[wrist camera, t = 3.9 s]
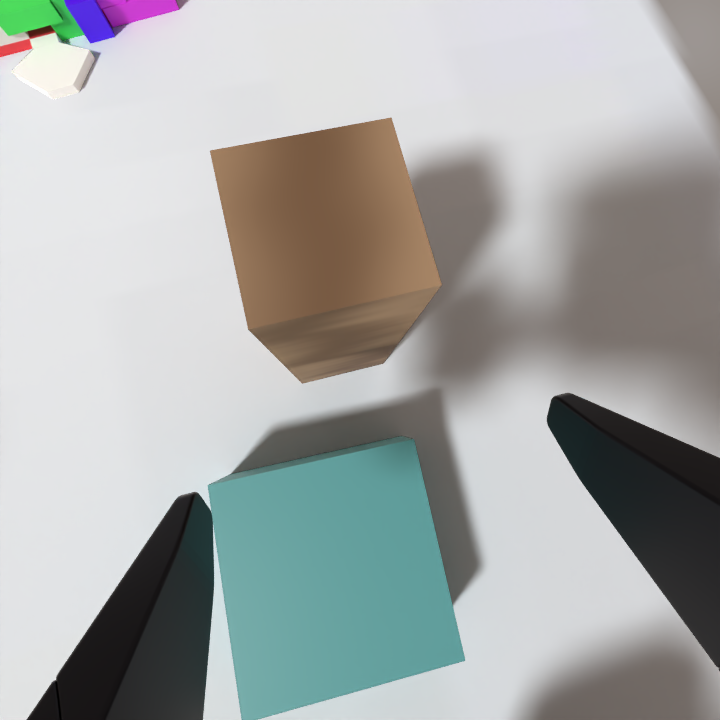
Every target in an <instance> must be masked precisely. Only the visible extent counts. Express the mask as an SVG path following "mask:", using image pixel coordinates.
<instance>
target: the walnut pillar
mask: <svg viewBox="0 0 720 720" xmlns="http://www.w3.org/2000/svg"><path fill="white" fill-rule="evenodd" d="M210 153H211V158H212V162H213V167H214V172H215V176H216V181H217V186H218V190H219V195H220V200H221V204H222V209H223V214H224V218H225V223H226V228H227V232H228V237H229V242H230V246H231V251H232V256H233V260H234V265H235V270H236V274H237V279H238V284H239V288H240V293H241V298H242V302H243V307H244V312H245V316H246V321H247V326H248V330H249V331H250V332H251V333H252V334H253V335H254V336H255V337H256V338H257V339H258V340H259V341H260V342H261V343H262V344H263V345H264V346H265V347H266V348H267V349H268V350H269V351H270V352H271V353H272V354H273V355H274V356H275V357H276V358H277V359H278V360H279V361H280V362H281V363H282V364H283V365H284V366H285V367H286V368H287V369H288V370H289V371H290V372H291V373H292V374H293V375H294V376H295V377H296V378H297V379H298V380H299V381H300V382H301V383H306V382H310V381H314V380H318V379H323V378H327V377H331V376H335V375H339V374H343V373H347V372H351V371H355V370H359V369H363V368H367V367H371V366H375V365H379V364H383V363H384V362H385V361H386V359H387V358H388V357H389V355H390V354H391V353H392V351H393V350H394V348H395V347H396V346H397V344H398V343H399V342H400V340H401V339H402V338H403V336H404V335H405V334H406V332H407V331H408V330H409V328H410V327H411V326H412V324H413V323H414V322H415V320H416V319H417V318H418V316H419V315H420V314H421V312H422V311H423V310H424V308H425V307H426V306H427V304H428V303H429V302H430V300H431V299H432V298H433V296H434V295H435V294H436V292H437V291H438V290H439V288H440V287H441V286H442V284H441V280H440V277H439V274H438V270H437V267H436V264H435V260H434V257H433V254H432V251H431V247H430V244H429V241H428V237H427V234H426V231H425V227H424V224H423V221H422V217H421V214H420V211H419V208H418V204H417V201H416V198H415V194H414V191H413V188H412V184H411V181H410V178H409V174H408V171H407V168H406V165H405V161H404V158H403V155H402V151H401V148H400V145H399V141H398V138H397V135H396V131H395V128H394V125H393V122H392V118H387V119H381V120H376V121H370V122H365V123H359V124H354V125H348V126H343V127H337V128H332V129H326V130H321V131H315V132H310V133H304V134H299V135H293V136H288V137H282V138H277V139H272V140H266V141H261V142H255V143H250V144H244V145H239V146H233V147H228V148H222V149H217V150H211V151H210Z"/></svg>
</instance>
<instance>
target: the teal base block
mask: <svg viewBox="0 0 720 720" xmlns="http://www.w3.org/2000/svg"><path fill="white" fill-rule="evenodd" d="M208 490H209V497H210V504H211V511H212V518H213V525H214V532H215V539H216V546H217V553H218V560H219V566H220V573H221V580H222V587H223V594H224V601H225V608H226V615H227V622H228V629H229V635H230V642H231V649H232V656H233V663H234V670H235V677H236V684H237V691H238V698H239V705H240V711H241V718H242V720H258V719H261V718H265V717H268V716H272V715H275V714H279V713H282V712H286V711H289V710H293V709H296V708H300V707H304V706H307V705H311V704H314V703H318V702H321V701H325V700H328V699H332V698H335V697H339V696H342V695H346V694H349V693H353V692H356V691H360V690H363V689H367V688H371V687H374V686H378V685H381V684H385V683H388V682H392V681H395V680H399V679H402V678H406V677H409V676H413V675H416V674H420V673H423V672H427V671H431V670H434V669H438V668H441V667H445V666H448V665H452V664H455V663H459V662H462V661H465V657H464V653H463V648H462V644H461V640H460V635H459V631H458V627H457V623H456V618H455V614H454V610H453V605H452V601H451V597H450V592H449V588H448V584H447V579H446V575H445V571H444V566H443V562H442V558H441V553H440V549H439V545H438V540H437V536H436V532H435V527H434V523H433V519H432V514H431V510H430V506H429V502H428V497H427V493H426V489H425V484H424V480H423V476H422V471H421V467H420V463H419V458H418V454H417V450H416V445H415V441H414V439H412V438H408V437H404V436H399V437H395V438H390V439H386V440H381V441H377V442H372V443H368V444H363V445H359V446H354V447H350V448H345V449H341V450H336V451H332V452H327V453H323V454H318V455H314V456H309V457H305V458H300V459H296V460H292V461H287V462H283V463H278V464H274V465H269V466H265V467H260V468H256V469H251V470H247V471H242V472H238V473H233V474H230V475H228V476H226V477H224V478H222V479H220V480H218V481H216V482H213V483H211V484H209V485H208Z"/></svg>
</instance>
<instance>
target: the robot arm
mask: <svg viewBox="0 0 720 720" xmlns="http://www.w3.org/2000/svg"><path fill="white" fill-rule="evenodd" d="M547 423H548V426H549V428H550V430H551V432H552V434H553V435H554V437H555V439H556V440H557V442H558V444H559V445H560V447H561V449H562V451H563V452H564V454H565V456H566V457H567V459H568V461H569V463H570V464H571V466H572V468H573V469H574V471H575V473H576V474H577V476H578V477H579V479H580V480H581V482H582V483H583V485H584V486H585V487H586V489H587V490H588V492H589V493H590V494H591V496H592V497H593V498H594V500H595V501H596V503H597V504H598V505H599V507H600V508H601V509H602V511H603V512H604V513H605V515H606V516H607V518H608V519H609V520H610V522H611V523H612V524H613V526H614V527H615V528H616V530H617V531H618V533H619V534H620V535H621V537H622V538H623V539H624V541H625V542H626V543H627V545H628V546H629V548H630V549H631V550H632V552H633V553H634V554H635V556H636V557H637V558H638V560H639V561H640V563H641V564H642V565H643V567H644V568H645V569H646V571H647V572H648V573H649V575H650V576H651V578H652V579H653V580H654V582H655V583H656V584H657V586H658V587H659V589H660V590H661V591H662V593H663V594H664V595H665V597H666V598H667V599H668V601H669V602H670V604H671V605H672V606H673V608H674V609H675V610H676V612H677V613H678V614H679V616H680V617H681V619H682V620H683V621H684V623H685V624H686V625H687V627H688V628H689V629H690V631H691V632H692V634H693V635H694V636H695V638H696V639H697V640H698V642H699V643H700V644H701V646H702V647H703V649H704V650H705V651H706V653H707V654H708V655H709V657H710V658H711V660H712V661H713V662H714V664H715V665H716V666H717V667H718V668H719V671H720V458H719V457H716V456H714V455H712V454H709V453H707V452H705V451H703V450H700V449H698V448H696V447H693V446H691V445H689V444H686V443H684V442H682V441H680V440H677V439H675V438H673V437H670V436H668V435H666V434H664V433H661V432H659V431H657V430H654V429H652V428H650V427H647V426H645V425H643V424H641V423H638V422H636V421H634V420H631V419H629V418H627V417H624V416H622V415H620V414H618V413H615V412H613V411H611V410H608V409H606V408H604V407H601V406H599V405H597V404H595V403H592V402H590V401H588V400H585V399H583V398H581V397H578V396H576V395H574V394H571V393H564V394H561V395H557V396H554V397H553V398H552V400H551V403H550V407H549V411H548V415H547ZM213 593H214V555H213V518H212V513H211V511H210V509H209V508H208V506H207V505H206V503H205V502H204V500H203V499H202V497H201V496H200V495H199V493H197V492H192V493H188V494H185V495H181V496H179V497H178V498H177V499H176V500H175V501H174V503H173V504H172V506H171V507H170V509H169V510H168V512H167V513H166V515H165V516H164V518H163V519H162V521H161V522H160V524H159V525H158V526H157V528H156V529H155V531H154V532H153V534H152V535H151V537H150V538H149V540H148V541H147V543H146V544H145V546H144V547H143V549H142V550H141V552H140V553H139V555H138V556H137V558H136V559H135V561H134V562H133V564H132V565H131V566H130V568H129V569H128V571H127V572H126V574H125V575H124V577H123V578H122V580H121V581H120V583H119V584H118V586H117V587H116V589H115V590H114V592H113V593H112V595H111V596H110V598H109V599H108V601H107V602H106V603H105V605H104V606H103V608H102V609H101V611H100V612H99V614H98V615H97V617H96V618H95V620H94V621H93V623H92V624H91V626H90V627H89V629H88V630H87V632H86V633H85V635H84V636H83V638H82V639H81V641H80V642H79V643H78V645H77V646H76V648H75V649H74V651H73V652H72V654H71V655H70V657H69V658H68V660H67V661H66V663H65V664H64V666H63V667H62V669H61V670H60V672H59V673H58V675H57V677H56V680H55V681H53V682H52V683H51V685H50V686H49V688H48V689H47V691H46V692H45V694H44V695H43V697H42V698H41V699H40V701H39V702H38V704H37V705H36V707H35V708H34V710H33V711H32V713H31V714H30V715H29V717H28V718H27V720H203V711H204V700H205V688H206V676H207V665H208V653H209V641H210V629H211V618H212V606H213Z"/></svg>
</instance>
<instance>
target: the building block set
mask: <svg viewBox="0 0 720 720" xmlns="http://www.w3.org/2000/svg"><path fill="white" fill-rule="evenodd" d="M176 10H179V8H178V5H177V3H176V0H0V57H2V56H6V55H10V54H14V53H17V52H21V51H25V50H29V49H32V48H33V50H32V51H31V52H30V53H29V54H28V55H27V56H26V57H25V58H24V59H23V60H22V61H21V62H20V63H19V64H18V65H17V66H16V67H15V68H14V69H13V70H12V71H11V72H12V73H13V74H14V75H15V76H16V77H17V78H18V79H19V80H21V81H22V82H24V83H26V84H28V85H29V86H31V87H33V88H35V89H36V90H38V91H40V92H42V93H43V94H45V95H47V96H48V97H50V98H52V99H58V98H61V97H65V96H68V95H72V94H75V93H79V92H80V90H81V88H82V85H83V83H84V81H85V79H86V77H87V75H88V73H89V71H90V68H91V66H92V64H93V62H94V60H95V57H94V56H93V54H92V53H91V51H90V50H88V49H84V48H80V47H76V46H72V45H68V44H64V43H62V40H66V39H70V38H74V37H77V36H81V35H85V36H86V37H87V39H88V40H89V42H90V43H94V42H98V41H101V40H105V39H109V38H112V37H115V35H114V32H113V30H112V27H116V26H120V25H124V24H128V23H131V22H135V21H139V20H143V19H146V18H150V17H154V16H157V15H161V14H165V13H169V12H172V11H176ZM110 23H111V24H110ZM111 25H112V27H111Z"/></svg>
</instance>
